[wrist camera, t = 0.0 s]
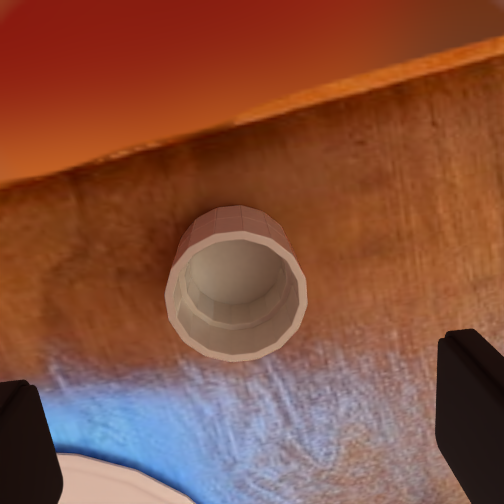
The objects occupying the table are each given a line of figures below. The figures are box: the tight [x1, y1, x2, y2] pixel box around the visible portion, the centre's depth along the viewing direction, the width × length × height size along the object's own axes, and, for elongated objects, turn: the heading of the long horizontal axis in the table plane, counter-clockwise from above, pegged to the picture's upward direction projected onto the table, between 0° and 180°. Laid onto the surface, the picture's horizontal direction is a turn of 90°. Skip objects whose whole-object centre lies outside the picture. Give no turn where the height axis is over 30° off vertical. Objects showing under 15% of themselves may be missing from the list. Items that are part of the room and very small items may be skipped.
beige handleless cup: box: [164, 205, 308, 362], centre depth 24 cm, size 6×6×6 cm
